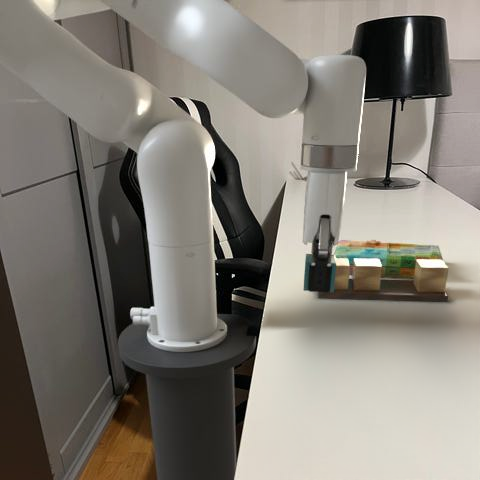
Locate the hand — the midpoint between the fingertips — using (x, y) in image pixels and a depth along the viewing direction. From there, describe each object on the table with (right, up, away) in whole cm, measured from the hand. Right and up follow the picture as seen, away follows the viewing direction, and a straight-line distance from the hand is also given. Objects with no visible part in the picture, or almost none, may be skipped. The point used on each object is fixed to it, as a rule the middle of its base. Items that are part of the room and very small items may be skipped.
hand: (318, 284), depth 75 cm
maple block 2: (+11, +1, +14) cm, 17 cm away
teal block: (0, 0, 0) cm, 0 cm away
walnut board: (+13, 0, +14) cm, 19 cm away
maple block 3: (+21, 0, +12) cm, 25 cm away
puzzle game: (+17, +5, +25) cm, 31 cm away
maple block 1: (+5, +1, +14) cm, 15 cm away
